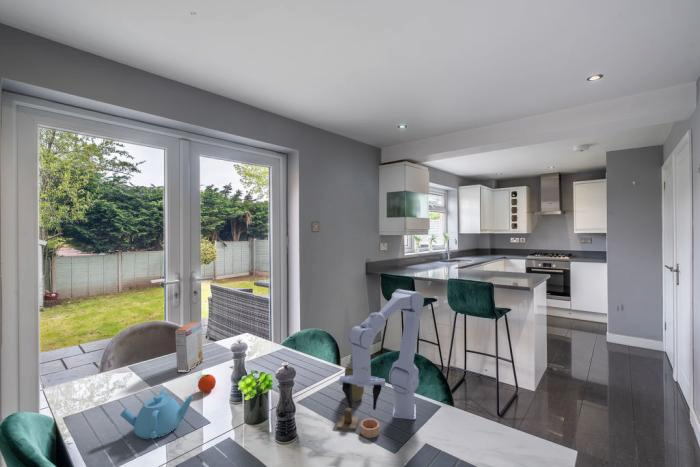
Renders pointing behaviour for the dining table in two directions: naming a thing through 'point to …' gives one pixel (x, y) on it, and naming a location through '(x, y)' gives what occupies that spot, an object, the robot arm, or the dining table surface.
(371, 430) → the bowl
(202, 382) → the clementine
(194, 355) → the cracker box
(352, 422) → the lid
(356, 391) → the squeeze bottle
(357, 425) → the coaster
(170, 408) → the teapot
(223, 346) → the dining table surface
